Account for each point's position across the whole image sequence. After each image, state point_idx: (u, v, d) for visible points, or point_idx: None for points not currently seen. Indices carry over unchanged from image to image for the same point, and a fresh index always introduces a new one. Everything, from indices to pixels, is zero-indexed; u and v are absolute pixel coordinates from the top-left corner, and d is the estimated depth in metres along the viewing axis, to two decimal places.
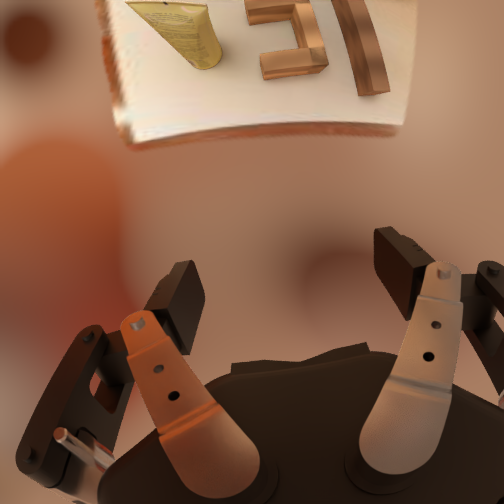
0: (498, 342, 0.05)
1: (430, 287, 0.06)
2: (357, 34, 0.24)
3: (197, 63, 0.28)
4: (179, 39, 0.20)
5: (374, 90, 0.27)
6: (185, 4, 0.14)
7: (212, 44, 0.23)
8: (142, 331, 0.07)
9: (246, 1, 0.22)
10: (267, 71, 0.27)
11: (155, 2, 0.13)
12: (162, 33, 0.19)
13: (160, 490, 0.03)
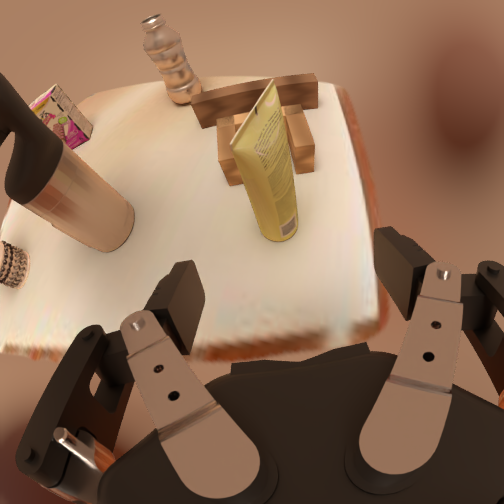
0: (498, 342, 0.05)
1: (430, 287, 0.06)
2: None
3: (296, 214, 0.31)
4: (285, 166, 0.23)
5: (316, 81, 0.35)
6: (265, 95, 0.18)
7: None
8: (141, 331, 0.07)
9: (226, 158, 0.32)
10: (313, 143, 0.31)
11: (250, 117, 0.17)
12: (275, 174, 0.21)
13: (160, 490, 0.03)
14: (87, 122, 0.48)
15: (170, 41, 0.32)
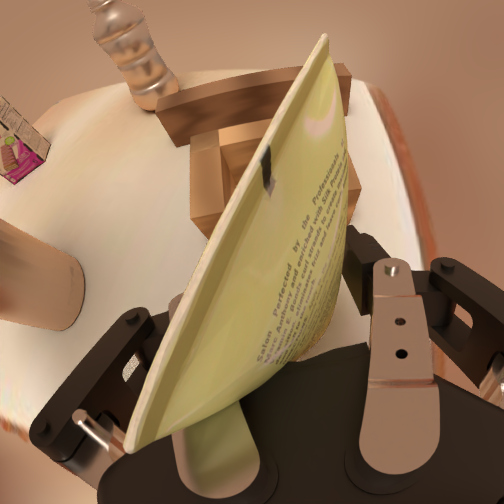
0: (463, 335, 0.06)
1: (382, 285, 0.07)
2: (268, 88, 0.23)
3: None
4: (335, 295, 0.09)
5: (349, 75, 0.21)
6: (305, 92, 0.04)
7: None
8: None
9: (204, 213, 0.19)
10: None
11: (237, 226, 0.03)
12: (312, 339, 0.08)
13: (160, 490, 0.03)
14: (42, 139, 0.34)
15: (127, 22, 0.18)
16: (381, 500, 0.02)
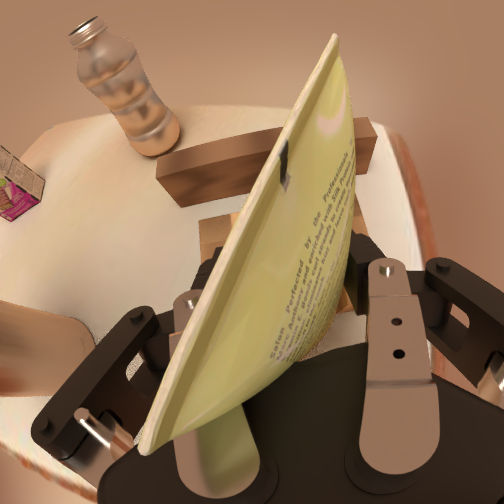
0: (460, 335, 0.06)
1: (377, 285, 0.07)
2: None
3: None
4: (339, 294, 0.09)
5: (375, 135, 0.20)
6: (318, 90, 0.04)
7: None
8: (193, 310, 0.08)
9: None
10: None
11: (256, 219, 0.03)
12: (318, 338, 0.08)
13: (160, 490, 0.03)
14: (36, 177, 0.34)
15: (116, 62, 0.17)
16: (383, 500, 0.02)
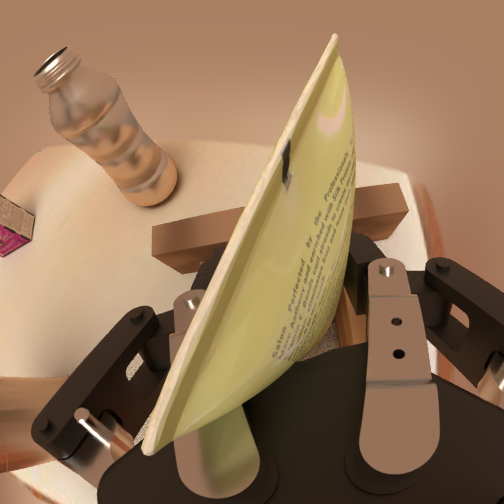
0: (460, 335, 0.06)
1: (377, 285, 0.07)
2: None
3: None
4: (339, 293, 0.09)
5: (406, 209, 0.18)
6: (319, 90, 0.04)
7: None
8: (193, 310, 0.08)
9: None
10: None
11: (259, 218, 0.03)
12: (318, 337, 0.08)
13: (160, 490, 0.03)
14: (25, 214, 0.31)
15: (94, 109, 0.15)
16: (383, 500, 0.02)
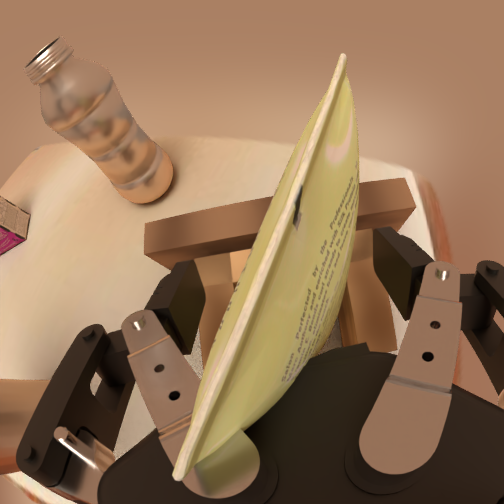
0: (497, 342, 0.05)
1: (429, 287, 0.06)
2: None
3: None
4: (340, 304, 0.09)
5: (414, 205, 0.17)
6: (328, 120, 0.04)
7: None
8: (142, 331, 0.07)
9: None
10: None
11: (272, 267, 0.03)
12: (320, 348, 0.08)
13: (160, 490, 0.03)
14: (20, 212, 0.30)
15: (85, 100, 0.14)
16: (366, 498, 0.02)
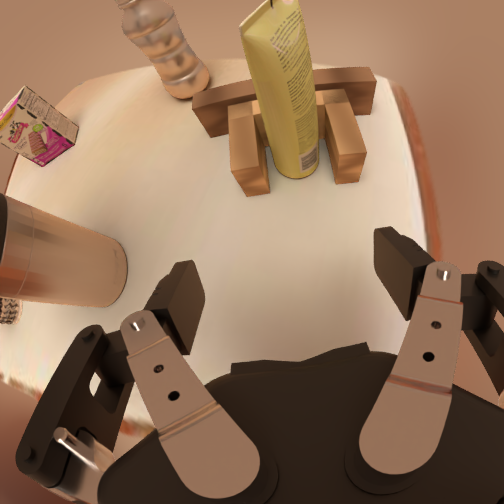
0: (498, 342, 0.05)
1: (430, 287, 0.06)
2: None
3: (318, 144, 0.24)
4: (308, 77, 0.16)
5: (375, 80, 0.22)
6: None
7: None
8: (141, 331, 0.07)
9: (242, 167, 0.23)
10: None
11: (265, 7, 0.10)
12: (296, 82, 0.15)
13: (160, 490, 0.03)
14: (70, 123, 0.38)
15: (158, 18, 0.19)
16: (365, 498, 0.02)
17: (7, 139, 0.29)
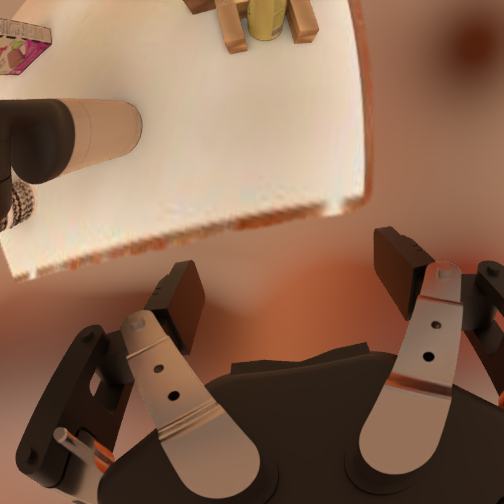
0: (498, 342, 0.05)
1: (430, 287, 0.06)
2: None
3: None
4: None
5: None
6: None
7: None
8: (141, 331, 0.07)
9: (232, 39, 0.26)
10: (317, 28, 0.25)
11: None
12: None
13: (160, 490, 0.03)
14: (43, 29, 0.23)
15: None
16: (365, 498, 0.02)
17: None
